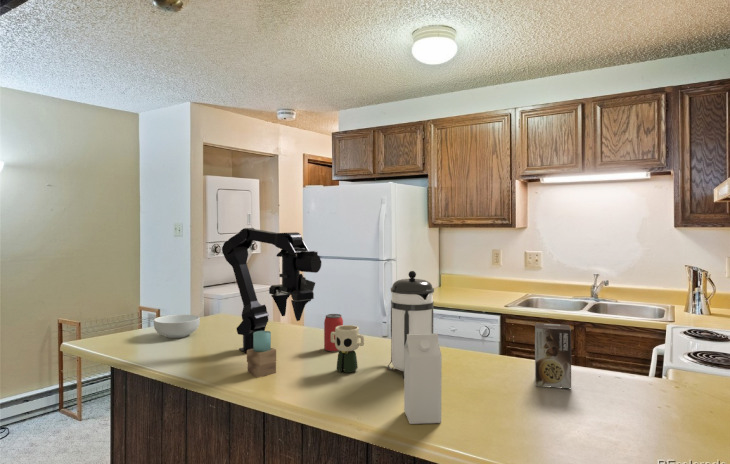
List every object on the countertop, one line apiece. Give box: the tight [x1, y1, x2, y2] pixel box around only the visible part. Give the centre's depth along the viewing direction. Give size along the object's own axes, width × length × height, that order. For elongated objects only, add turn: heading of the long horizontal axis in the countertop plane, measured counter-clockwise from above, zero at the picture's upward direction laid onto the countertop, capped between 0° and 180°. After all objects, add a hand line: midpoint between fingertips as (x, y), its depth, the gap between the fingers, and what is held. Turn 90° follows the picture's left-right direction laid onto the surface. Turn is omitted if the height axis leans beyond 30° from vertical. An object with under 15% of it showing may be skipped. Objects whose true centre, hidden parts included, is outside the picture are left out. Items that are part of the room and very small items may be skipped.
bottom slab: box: [247, 361, 277, 378], centre depth 137 cm, size 6×6×4 cm
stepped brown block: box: [246, 347, 277, 366], centre depth 137 cm, size 6×6×4 cm
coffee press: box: [387, 270, 435, 380], centre depth 138 cm, size 17×16×30 cm
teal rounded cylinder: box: [253, 330, 272, 352], centre depth 137 cm, size 5×5×5 cm
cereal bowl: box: [153, 314, 201, 339], centre depth 181 cm, size 17×17×7 cm
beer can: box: [323, 313, 344, 353], centre depth 161 cm, size 7×7×12 cm
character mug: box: [331, 324, 365, 373], centre depth 138 cm, size 11×7×13 cm, turn 67°
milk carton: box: [403, 333, 443, 425], centre depth 105 cm, size 7×7×19 cm
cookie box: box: [534, 322, 572, 389], centre depth 127 cm, size 9×6×16 cm
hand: (290, 318), depth 152 cm, fingers open, 9 cm apart
